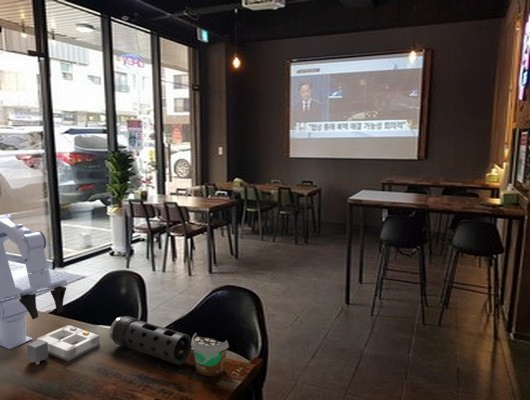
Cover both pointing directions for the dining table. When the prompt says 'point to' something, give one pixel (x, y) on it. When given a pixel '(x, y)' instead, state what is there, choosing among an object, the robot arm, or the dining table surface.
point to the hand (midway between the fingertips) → (47, 315)
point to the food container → (209, 355)
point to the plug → (37, 351)
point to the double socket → (70, 342)
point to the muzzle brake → (151, 339)
